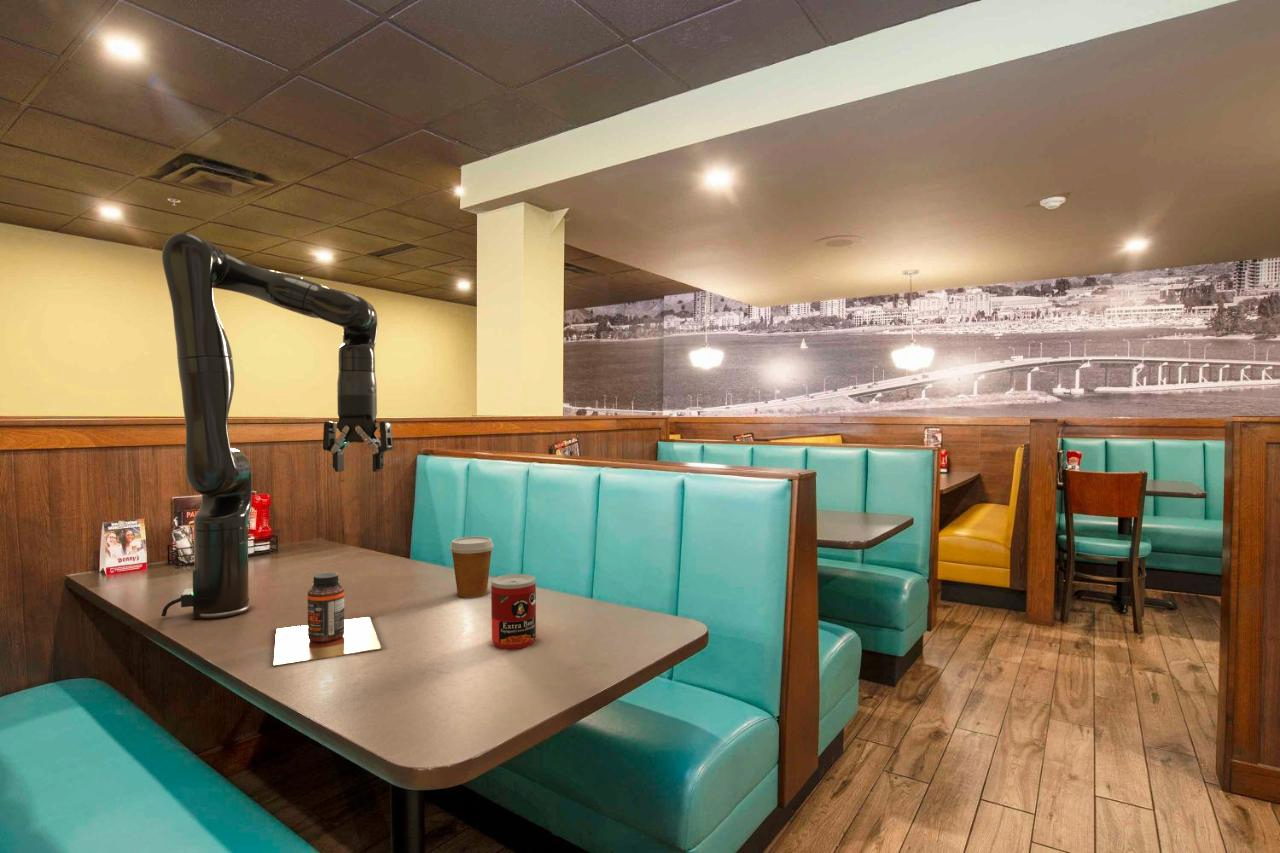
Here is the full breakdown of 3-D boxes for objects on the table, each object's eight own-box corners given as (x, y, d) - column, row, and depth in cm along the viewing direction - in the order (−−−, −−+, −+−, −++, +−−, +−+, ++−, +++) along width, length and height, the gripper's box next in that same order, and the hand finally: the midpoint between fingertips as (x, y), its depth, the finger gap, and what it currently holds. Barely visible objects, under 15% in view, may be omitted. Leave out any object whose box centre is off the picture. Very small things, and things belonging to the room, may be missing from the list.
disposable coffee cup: (482, 600, 142) (482, 544, 142) (442, 598, 144) (441, 543, 144) (501, 589, 151) (500, 537, 151) (462, 587, 153) (461, 535, 153)
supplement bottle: (299, 641, 116) (298, 576, 116) (327, 631, 122) (326, 569, 121) (325, 645, 114) (324, 579, 114) (352, 634, 119) (351, 572, 119)
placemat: (273, 666, 105) (273, 664, 105) (276, 630, 123) (276, 629, 123) (381, 649, 112) (381, 648, 112) (369, 617, 130) (369, 616, 130)
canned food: (498, 652, 111) (498, 587, 110) (486, 638, 118) (485, 576, 118) (542, 645, 114) (542, 581, 114) (528, 631, 121) (527, 571, 121)
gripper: (398, 394, 141) (399, 470, 141) (336, 394, 143) (337, 469, 143) (379, 392, 133) (380, 473, 133) (314, 393, 135) (315, 472, 135)
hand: (358, 471), depth 138 cm, fingers open, 8 cm apart
